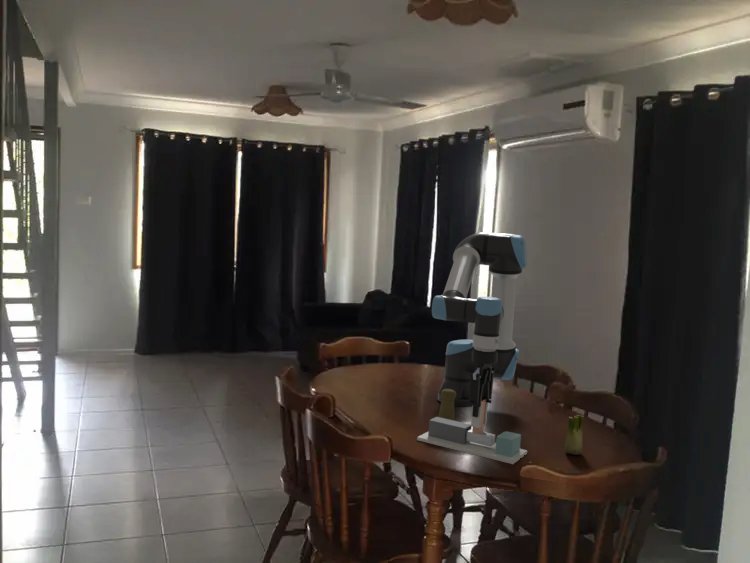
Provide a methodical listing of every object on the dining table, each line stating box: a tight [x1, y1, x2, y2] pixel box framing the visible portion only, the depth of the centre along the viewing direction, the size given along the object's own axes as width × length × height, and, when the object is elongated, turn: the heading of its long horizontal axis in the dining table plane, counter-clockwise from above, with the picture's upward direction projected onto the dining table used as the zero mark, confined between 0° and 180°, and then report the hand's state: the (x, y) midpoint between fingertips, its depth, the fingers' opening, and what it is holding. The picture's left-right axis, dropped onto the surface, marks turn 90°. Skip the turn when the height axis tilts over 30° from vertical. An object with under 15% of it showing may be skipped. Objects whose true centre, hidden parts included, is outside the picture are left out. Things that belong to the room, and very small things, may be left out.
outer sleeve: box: [427, 416, 472, 444], centre depth 222 cm, size 12×5×5 cm, turn 59°
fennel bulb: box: [564, 414, 585, 456], centre depth 218 cm, size 6×5×12 cm
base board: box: [416, 430, 528, 465], centre depth 218 cm, size 31×12×1 cm, turn 59°
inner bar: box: [465, 398, 496, 447], centre depth 218 cm, size 16×4×13 cm, turn 59°
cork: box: [437, 389, 456, 421], centre depth 243 cm, size 6×6×11 cm
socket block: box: [495, 430, 522, 457], centre depth 212 cm, size 5×7×5 cm
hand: (478, 425), depth 217 cm, fingers closed on inner bar, 4 cm apart
